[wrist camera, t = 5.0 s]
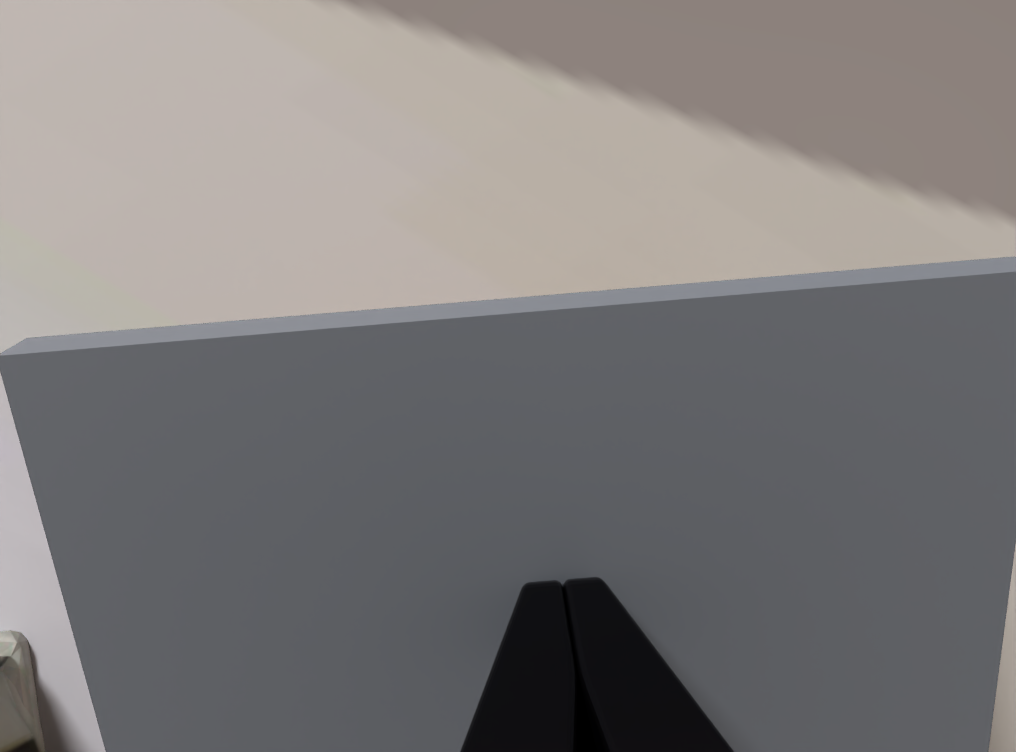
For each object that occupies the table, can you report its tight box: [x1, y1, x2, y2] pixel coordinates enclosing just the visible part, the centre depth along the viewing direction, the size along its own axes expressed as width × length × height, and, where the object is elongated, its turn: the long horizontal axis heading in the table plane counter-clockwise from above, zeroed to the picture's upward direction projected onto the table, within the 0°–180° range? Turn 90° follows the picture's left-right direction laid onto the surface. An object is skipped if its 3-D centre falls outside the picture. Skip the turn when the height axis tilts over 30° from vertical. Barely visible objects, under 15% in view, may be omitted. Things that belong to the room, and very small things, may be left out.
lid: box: [0, 257, 1016, 752], centre depth 10 cm, size 8×10×1 cm
